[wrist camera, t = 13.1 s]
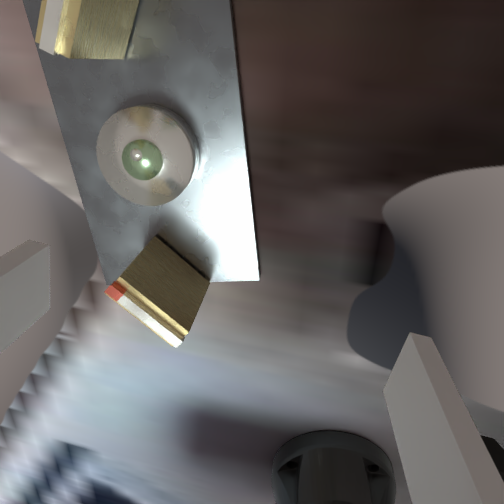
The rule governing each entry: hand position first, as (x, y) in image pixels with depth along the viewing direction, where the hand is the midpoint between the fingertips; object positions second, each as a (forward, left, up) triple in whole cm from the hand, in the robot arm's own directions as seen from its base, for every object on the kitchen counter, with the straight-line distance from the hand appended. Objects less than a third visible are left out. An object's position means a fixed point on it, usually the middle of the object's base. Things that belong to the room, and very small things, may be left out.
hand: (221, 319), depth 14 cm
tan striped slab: (+13, +10, -22) cm, 27 cm away
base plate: (+2, +10, -23) cm, 25 cm away
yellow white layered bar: (-9, +10, -22) cm, 25 cm away
